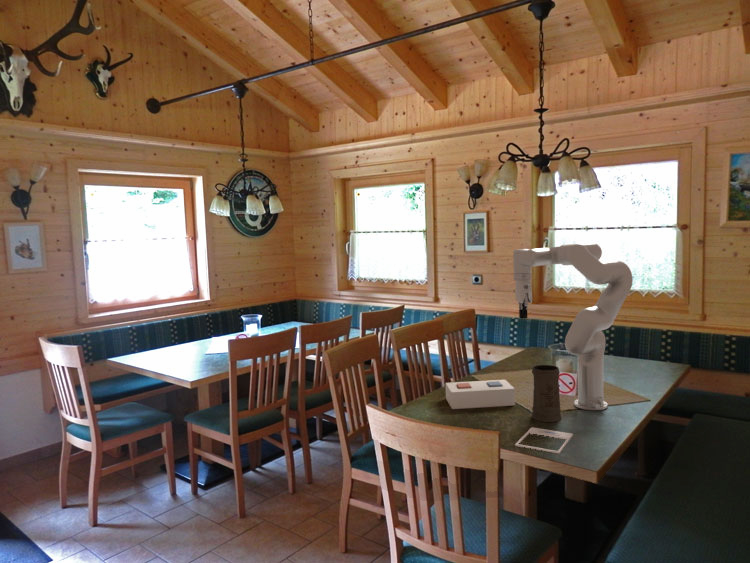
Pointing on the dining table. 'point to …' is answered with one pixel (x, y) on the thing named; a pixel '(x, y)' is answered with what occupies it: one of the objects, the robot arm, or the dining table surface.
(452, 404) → the key console
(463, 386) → the red key
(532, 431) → the photo frame
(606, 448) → the dining table surface
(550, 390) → the beer stein
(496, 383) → the blue key
